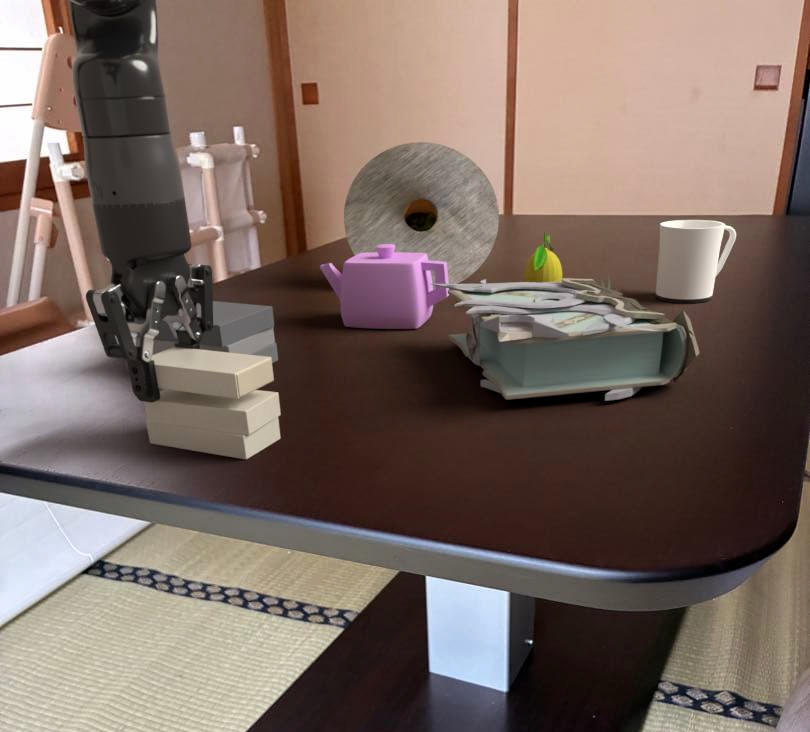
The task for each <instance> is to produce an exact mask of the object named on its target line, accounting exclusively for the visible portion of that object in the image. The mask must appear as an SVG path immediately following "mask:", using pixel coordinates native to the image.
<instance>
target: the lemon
mask: <svg viewBox="0 0 810 732" xmlns="http://www.w3.org/2000/svg"><path fill="white" fill-rule="evenodd" d="M547 243H548V246H549V248H547V247H546V246H547V245H546V244H547ZM553 251H554V247H553V245H552V244H551V236H550V235H547V231H544V233H543V243H542V245H539V246H537V247H536V249H535V252H534V253H532V255H531V256H530V257H529V258H528V260H527V263H526V265H525V268H524V274H523V280H524V281H523V282H538V283H541V282H554V281H562V279H563V267H562V264H561V261H560V259H559V258H558V257H559V256H557V255H556V254H555V253H554V252H553Z"/></svg>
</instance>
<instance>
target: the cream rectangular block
mask: <svg viewBox="0 0 810 732" xmlns="http://www.w3.org/2000/svg"><path fill="white" fill-rule="evenodd" d="M151 360H154V363H155V371H156V376H157V382H158V388H159V390H160V389H161V390H164V389H168V390H176V391H183V392H191V393H198V394H206V395H213V396H221V397H228V398H236V399H239V398H241V397H243V396H245V395H247V394H249V393H250V392H252V391H254V390H259V389H260V388H263V387H265V386H266V385H268V384H270V383H272V382H274V381H275V378H274V369H273V363H272V359H271V357H266V356H256V355H247V354H238V353H228V352H219V351H209V350H200V349H190V348H181V347H173V348H170V349H167V350H165V351H162V352H160V353H157V354H154V355H152V359H151Z"/></svg>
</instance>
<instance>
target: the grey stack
mask: <svg viewBox="0 0 810 732" xmlns="http://www.w3.org/2000/svg"><path fill="white" fill-rule="evenodd" d="M197 317H201V305H200V304H199V303H197ZM274 318H275V317H274V308H273V306H272V305H261V304H251V303H250V304H249V303H240V302H230V301H229V302H228V301H218V300H217V301H216V300H213V328H212V330H211V331H205V332H204V333H203V337H202V340H201V341H200V342H199V345H200V350H209V351H219V352H228V353H238V354H247V355H256V356H266V357H271V359H272V364H274V363H276V362H278V361H279V355H278V353H279V352H278V346H277V345H278V344H277V342H276V339H275V331H274V327H275V319H274ZM144 322H145V321H141V320H138V319H137V318H135V323H136V324H143V323H144ZM182 324H183V323H182ZM183 325H184V324H183ZM177 342H179V340H177V339H175V337H174V335H173V333H172V331H171V329H170V327H169V325H168V323H167V322H165V321H164V320H160V329H159V333H158V335H156V336H155V337H154V344H153V354H152V355H154V354H157V353H160V352H162V351H165V350H167V349H170V348H173V347H175V344H174V343H177ZM139 345H140V334H138V335H137V340H136V346H137V347H139ZM124 362H125V369H126V372H129V368H128V364H127V362H126V361H125V360H124Z"/></svg>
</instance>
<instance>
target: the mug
mask: <svg viewBox="0 0 810 732" xmlns="http://www.w3.org/2000/svg"><path fill="white" fill-rule="evenodd" d="M725 231H728V233H729V238H728V240H727V242H726V243H725V246H724V248H723V251H722V253H721V255H720V251H721V246H722V241H723V237H724V232H725ZM736 239H737V232H736V229H734V227H732V226H730V225H726V223H724V222H721V221H717V220H707V219H706V220H705V219H677V220H675V219H674V220H667V221H663V222H660V223H659V249H658V261H657V274H656V285H655V286H656V287H655V297H656V299H658V300H659V301H662V302H667V303H672V304H673V303H674V304H701V303H706V302H709V301H711V300H712V298H713V294H714V288H715V282H716V277H718V275H719V274H720V273H721V271H722V269H723V268H724V265H725V264H726V261H727V259H728V257H729V255H730V253H731V251H732V249H733V246H734V243H735V242H736ZM719 257H720V258H719Z"/></svg>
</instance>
